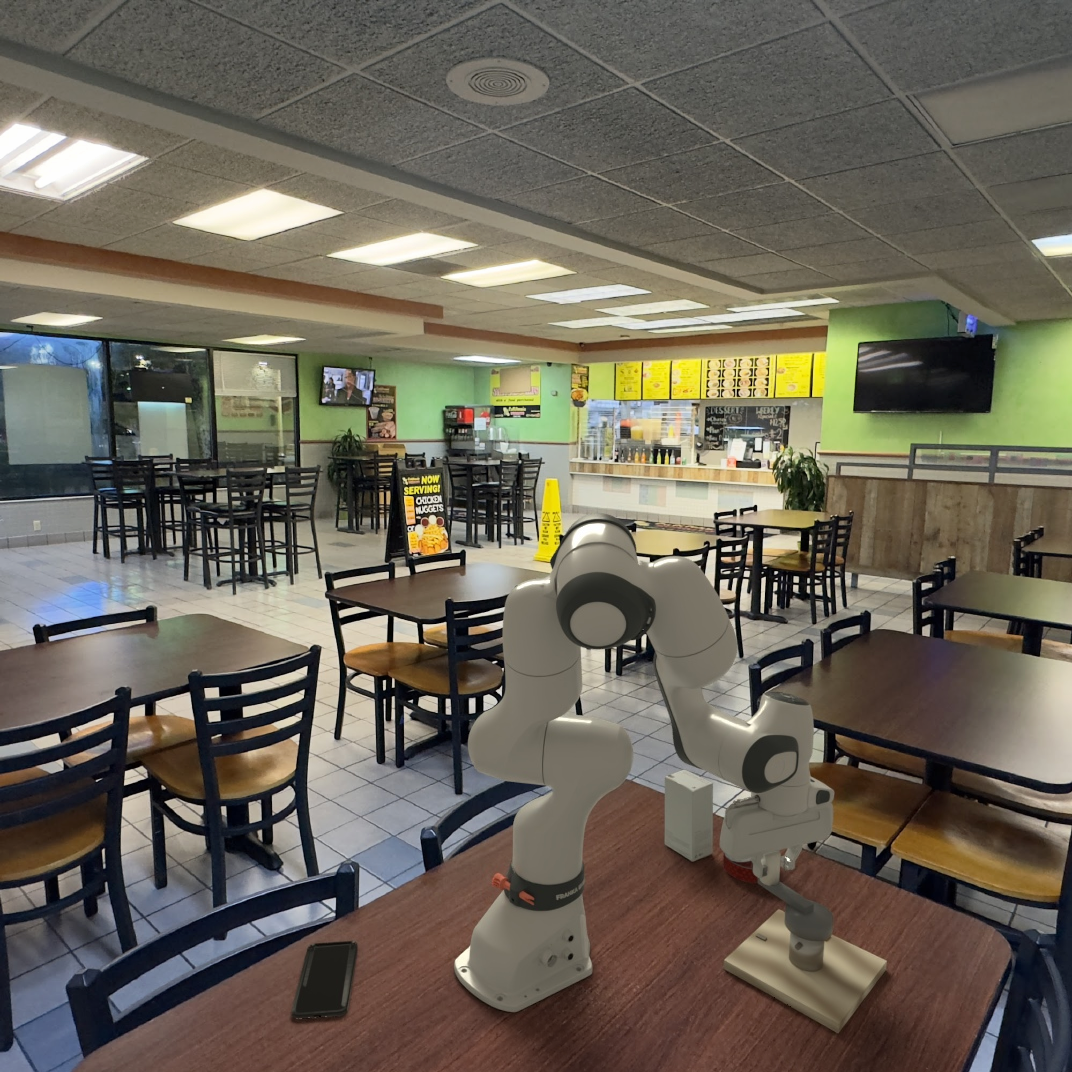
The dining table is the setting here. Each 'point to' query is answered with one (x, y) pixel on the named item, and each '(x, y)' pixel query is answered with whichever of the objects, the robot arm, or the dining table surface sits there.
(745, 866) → the canned food
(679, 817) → the skincare box
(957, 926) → the dining table surface
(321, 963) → the phone
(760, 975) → the mount board
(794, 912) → the white knob lever
